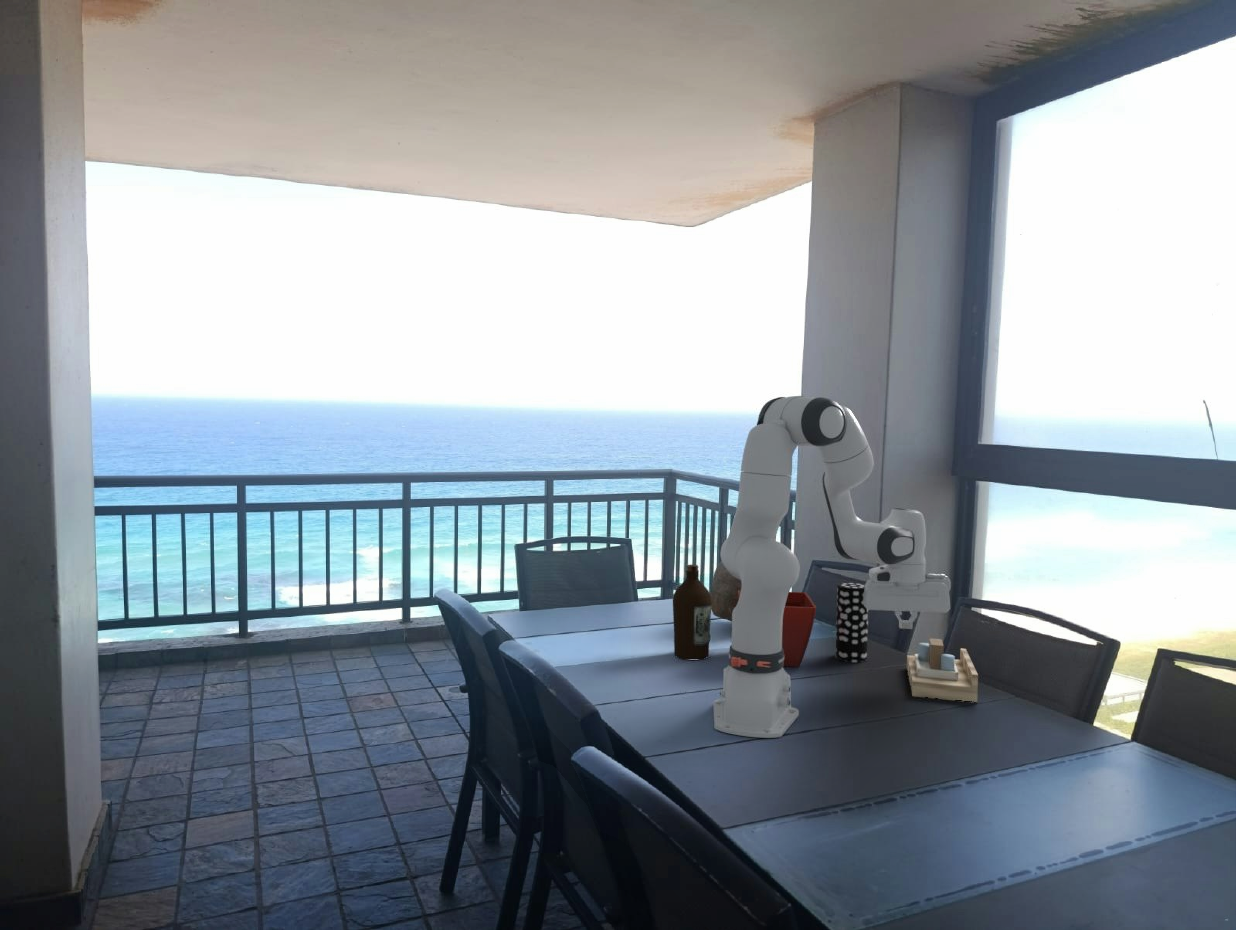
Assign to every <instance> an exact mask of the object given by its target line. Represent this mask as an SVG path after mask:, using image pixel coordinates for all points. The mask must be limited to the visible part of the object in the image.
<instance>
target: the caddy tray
mask: <svg viewBox="0 0 1236 930" xmlns="http://www.w3.org/2000/svg"><path fill="white" fill-rule="evenodd" d="M928 641H929V642H919V643H918V650H917V652H918V653H914V656H915V665H916V670H917V676H921V677H931V678H941V679H951V680H958V670H957V667H956V664H955V658H956V656H955V655H953V654H950V653H949V654H948V653H944V650H945V649H944V646H945V645H944V643H943V640H942V639H941V638H932V637H931V638H929V639H928Z"/></svg>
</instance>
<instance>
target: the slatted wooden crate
mask: <svg viewBox="0 0 1236 930" xmlns="http://www.w3.org/2000/svg"><path fill="white" fill-rule="evenodd" d="M959 651H960V653H959V654H960V655H959V657H960V659H955V664H956V667H957V670H958V680H951V679H941V678H931V677H921V676H917V670H916V665H915V655H910V654H909V655H908V654H907V655H906V670H907V671H908V672H907V675H908V676H909V677H908V681H909V686H911V687H910V692H911V695H912V697H918V698H925V697H928V698H927V699H935V698H938V699H937V700H944V701H945V700H946V701H947V700H948V701H955V700H962V701H961V702H964V701H972V702H971V703H974V702H977V703H978V693H979V692H978V691H979V690H978V688H979V687H978V686H979V674H978V672H977V669H976V668H975V666H974V663H973V661H972V659H971V657H970V655H969V653H968V651H967V648H960V650H959ZM973 701H974V702H973Z"/></svg>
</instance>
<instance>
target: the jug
mask: <svg viewBox="0 0 1236 930" xmlns="http://www.w3.org/2000/svg"><path fill="white" fill-rule="evenodd" d="M741 586H742V583H741V580H739V579H737V578H735V577H734V576H732V575H731V574H730V573H729V572H728V570H727V569H726V568H725V566H724V565H723V563H722V560H721V561H720V562H719V563H718V565H717V567H716V569H715V571H714V573H713V575H712V581H711V587H710V596H711V600H712V606H711V613H712V614H713V616H715V617H717V618H720V619H721V620H722V619H723V620H726V621H729V622H731V623H732V612H733V610H734V608H735V607H736V606H737V603H738V600H739V598H738V591H739V590H741Z"/></svg>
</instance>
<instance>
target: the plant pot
mask: <svg viewBox="0 0 1236 930" xmlns="http://www.w3.org/2000/svg"><path fill="white" fill-rule="evenodd" d="M740 593H741V590H739V591H738V598H739V597H740ZM816 610H817V606H816V605H815V603H814V602H813V600H812V599H811V597H810V596H809V594H808V593H807V592H803V591H801V592H799V591H798V592H797V591H789V593H788V597H787V600H786V604H785V608H784V613H783V627H782V648H783V649H784V666H783V667H800V666H801V664H802V662H803V660H804V657H805V654H806V652H807V648H808V645H809V642H810V639H811V634H812V630H813V626H814V622H815V617H816V612H817V611H816Z"/></svg>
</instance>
